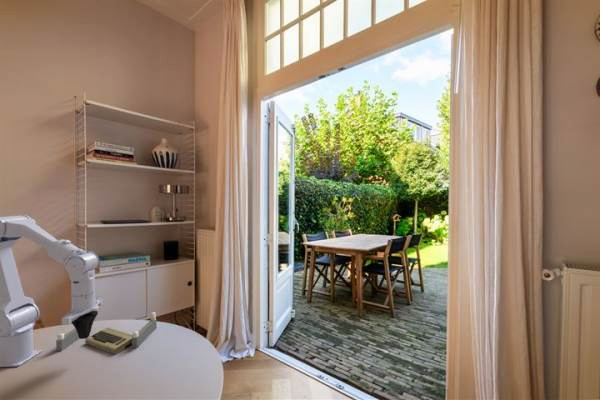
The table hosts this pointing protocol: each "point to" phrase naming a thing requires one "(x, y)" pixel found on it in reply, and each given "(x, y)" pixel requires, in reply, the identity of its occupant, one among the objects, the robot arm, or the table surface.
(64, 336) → the dock
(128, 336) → the computer
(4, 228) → the robot arm
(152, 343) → the table surface
